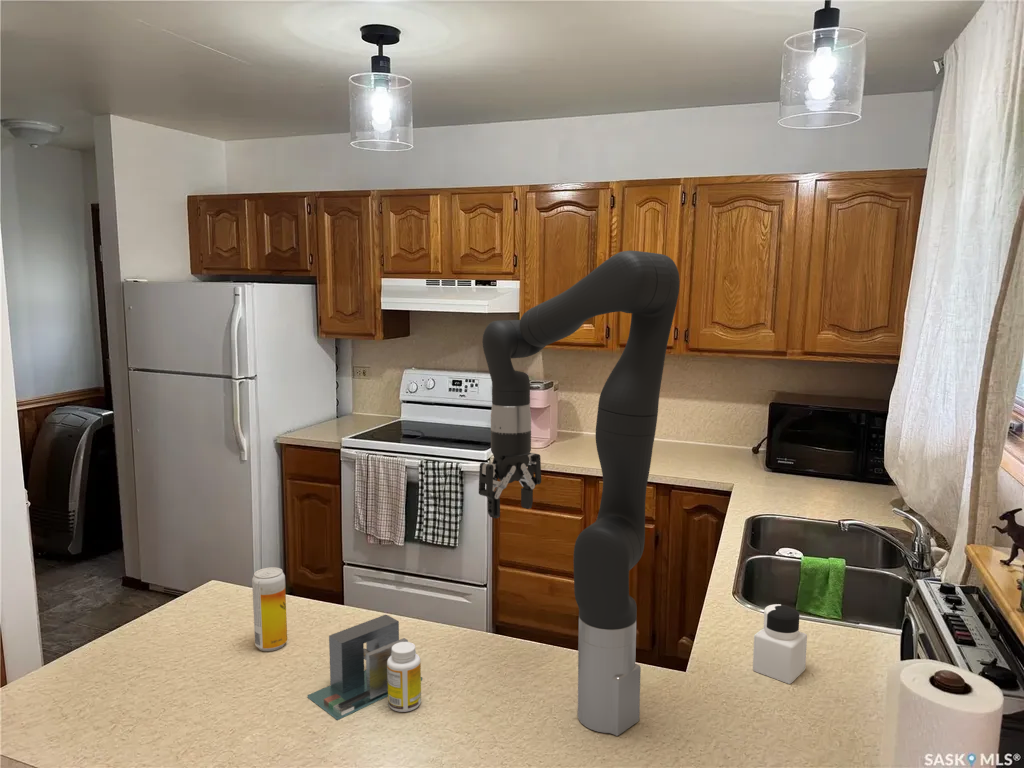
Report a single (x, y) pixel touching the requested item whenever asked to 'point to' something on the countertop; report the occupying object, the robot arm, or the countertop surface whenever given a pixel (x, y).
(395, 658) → the supplement bottle
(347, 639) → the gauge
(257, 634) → the beer can
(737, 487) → the countertop surface
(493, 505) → the robot arm
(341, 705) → the grey plate with rod
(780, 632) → the medicine bottle
